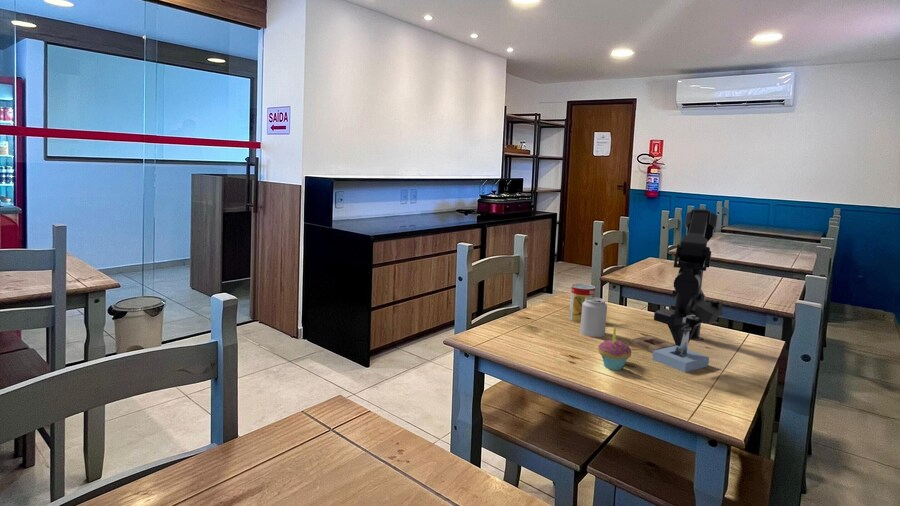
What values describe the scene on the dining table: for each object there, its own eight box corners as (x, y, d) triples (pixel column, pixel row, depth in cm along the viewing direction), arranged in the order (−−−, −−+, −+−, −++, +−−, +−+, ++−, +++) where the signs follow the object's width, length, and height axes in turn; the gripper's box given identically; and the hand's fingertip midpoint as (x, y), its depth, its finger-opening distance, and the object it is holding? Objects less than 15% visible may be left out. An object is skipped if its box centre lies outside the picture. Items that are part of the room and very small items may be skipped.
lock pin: (679, 350, 146) (682, 323, 145) (691, 354, 143) (694, 326, 142) (670, 352, 144) (673, 324, 143) (682, 357, 141) (685, 328, 140)
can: (605, 341, 163) (608, 303, 161) (580, 338, 164) (583, 301, 162) (603, 333, 170) (606, 297, 168) (579, 331, 171) (582, 295, 169)
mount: (649, 343, 162) (650, 335, 162) (675, 352, 155) (676, 344, 154) (629, 347, 158) (630, 339, 157) (654, 357, 150) (655, 348, 150)
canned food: (594, 323, 181) (597, 289, 179) (571, 322, 181) (574, 288, 179) (589, 317, 189) (592, 283, 187) (567, 316, 189) (569, 283, 187)
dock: (675, 357, 151) (676, 345, 150) (707, 369, 143) (709, 357, 142) (651, 362, 146) (653, 350, 145) (684, 376, 137) (685, 363, 137)
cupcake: (624, 375, 136) (629, 330, 134) (592, 367, 141) (595, 324, 139) (633, 365, 144) (637, 322, 142) (601, 358, 148) (605, 316, 146)
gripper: (694, 299, 129) (686, 360, 132) (738, 291, 139) (730, 349, 141) (655, 289, 138) (649, 346, 141) (699, 282, 148) (693, 336, 151)
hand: (681, 344), depth 143 cm, fingers closed on lock pin, 3 cm apart
